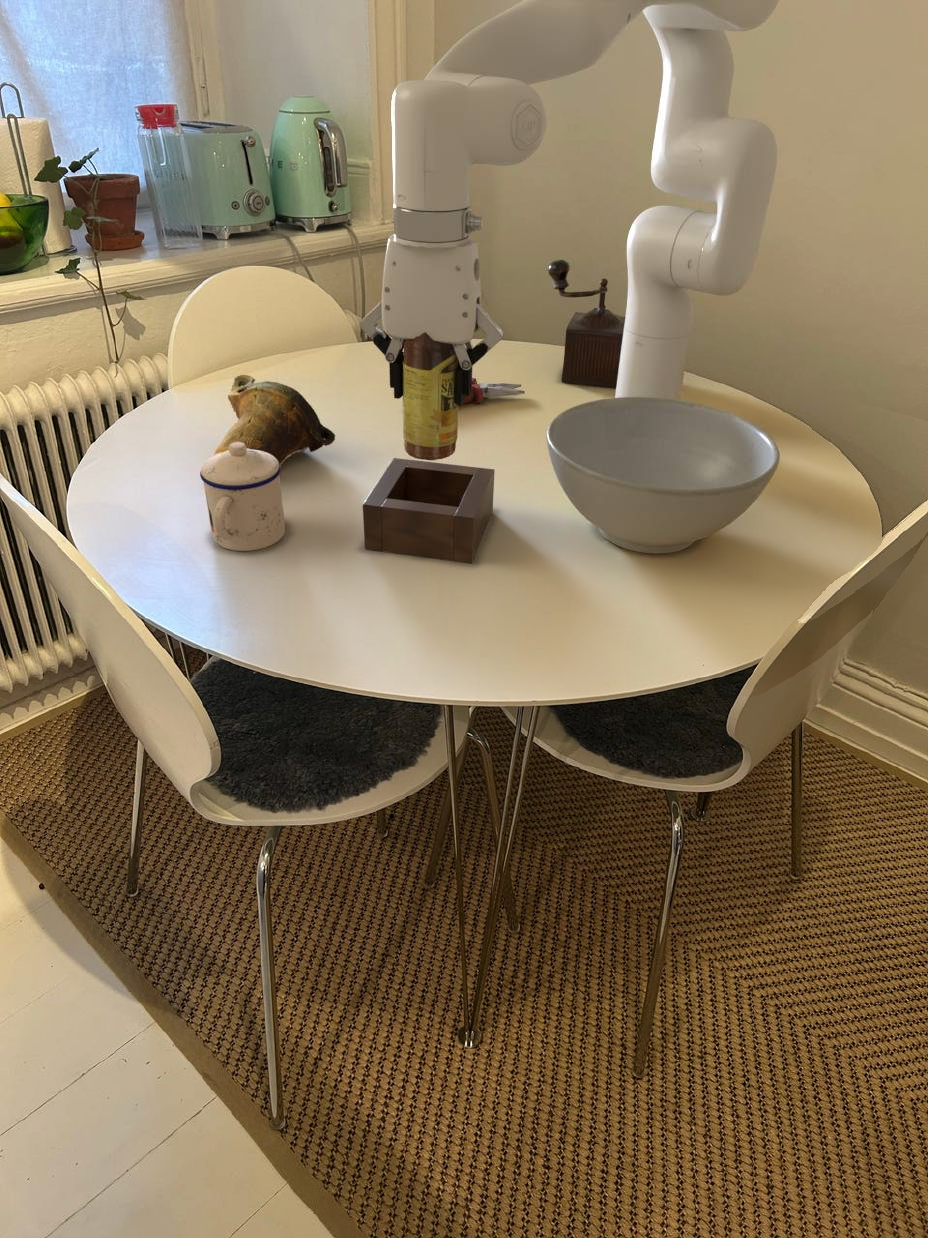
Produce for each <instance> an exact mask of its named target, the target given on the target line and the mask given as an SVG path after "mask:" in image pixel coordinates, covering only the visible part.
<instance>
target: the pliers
mask: <svg viewBox="0 0 928 1238" xmlns="http://www.w3.org/2000/svg"><path fill="white" fill-rule="evenodd" d="M521 387H522V384H521V383H520V384H519V383H506V382H505V383H504V382H482V383H481V382H480V383H478V381H477V378H476V377H472V390H471V394H470V396H466V398H465V400H464V402H463V403H462V405H463V404H467V403H470V402H473V403H475V404H482V403H483V401H484V400H483V399H484V398H499V397H507V396H514V395H523V394H525V393H526V391H525V390H522V389H518V388H521Z"/></svg>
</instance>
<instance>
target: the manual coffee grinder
mask: <svg viewBox="0 0 928 1238" xmlns="http://www.w3.org/2000/svg"><path fill="white" fill-rule="evenodd" d="M570 268H571V267H570V264H569V262H568V261H566V260H564V259H555V260H553V261H551V263H549V264H548V266H547V273H548V276H550V278H551V279H552V280H553V286H552V289H553V290H557V291H558V294H559V296H561V297H563V298H570V299H571V298H586V297H593V296H597V295H599V299H598V300H599V301H598V307H594V308H592V309H591V310H589V311H587V312H582V311H581V312H579V311H575V312H574V314H573V315H572V317H571V319H570V321H569V322H568V324H567V326H566V328H565V329H566V330H565V338H564V339H565V340H564V354H563V365H562V373H561V382H562V383H564V384H570V385H580V386H587V387H595V388H596V387H597V388H606V389H607V388H608V389H609V388H610V389H616V386H617V379H618V371H619V363H620V355H621V347H622V339H623V331H624V325H625V317H626V316H621V315H619V314H616V313H615V312H613V311H611V310H610V309H607V308H606V305H605V300H606V293H607V292H608V291H609V289H608V286H607V285H608V283H609V280H608V279H607V278H605V277H604V278H601V280H600V281H599V285H600V286H599V288H598V289H594V290H587V291H586V290H585V291H565V290H566V289H567V288H568V287H569V286H570V283H569V282H568V279H567V278H568V274H569V272H570V270H571V269H570Z"/></svg>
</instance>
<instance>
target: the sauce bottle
mask: <svg viewBox="0 0 928 1238" xmlns="http://www.w3.org/2000/svg"><path fill="white" fill-rule="evenodd" d="M403 345H404V349H403V352H404V360H403V396H402V436H403V446H404V451H405V453H407V455H408V456H410V457H412V458H414V459H416V460H417V459H418V460H421V461H424V460H425V461H438V460H443V459H445V458H449V457H451V456H452V455H453V454H454V453H455V452H456V448H457V447H456V446H457V445H456V444H457V441H458V430H459V428H458V426H459V425H458V424H459V405H457V404H455V372H456V369H457V368H458V366H459V361H458V358H457V356H456V353H455V350H454V348H453V345H452V344H448V343H441V342H437V341H434V340H433V339H432V338H431V337H430V336H429V335H428V334H427V333H426V332H424V333H423V334H421V335H420V336H416V337H415V338H414V339H407V340H406V339H405V340H404V343H403Z"/></svg>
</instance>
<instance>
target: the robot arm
mask: <svg viewBox="0 0 928 1238" xmlns="http://www.w3.org/2000/svg"><path fill="white" fill-rule="evenodd" d="M779 1H780V0H522V1H521V0H520V2H518V3H516V4H514V5H513V6H511V7H510V8H508V9H505V10H504V11H503V12H501V13H499V14H497V15H495V16H493V17H492V18H490V19H488V20H486V21H484V22H483V23H481V24H479V25H477V26H476V27H475V28H473V29H471V30H470V31H469V32H468V33H466V34H465V35H464V36H463V37H461V38H460V39H459V40H458V41H457V42H456V43H455V44H453V45H452V46H451V48H450V49H448V51H447V52H446V53H445V54H444V55H443V56H442V57H441V58H440V59H439V60H438V62H436V64H435V65H433V67H432V68H431V69H430V71H429V72H428V73H427V74H426V76H425V77H424V79H411V80H405V81H402V82H400V83H398V85H397V86H395V88H394V90H393V93H392V99H391V127H392V129H391V130H392V131H391V132H392V133H391V135H392V137H391V139H392V141H391V142H392V189H393V192H392V195H393V234H391V235H390V236H389V237H388V240H387V243H386V249H385V251H386V252H385V257H384V264H383V274H382V290H381V301H380V302H379V303H378V304H376V306H374V307H373V308H372V309H371V311H369V313H367V314H366V316H365V317H363V318H362V319H361V320H360V321H359V327H360V329H362V331H363V332H364V333H365V334H366V336H367V337H368V338H369V339H371V340H372V343H373V344H374V346H376V348H377V349H378V351H380V352H381V353H382V354H383V355H384V359H385V361H386V362H387V363H388V364H389V365H388V366H389V367H388V368H389V369H388V370H389V387H390V389H393V398H394V399H398V400H399V399H401V398H403V360H404V345H403V343H404V340H405V339H406V340H407V339H414V338H415V337H416V336H420V335H421V334H423V333H424V332H426V333H427V334H428V335H429V336H430V337H431V338H432V339H433V340H434V341H437V342H441V343H448V344H452V345H453V348H454V350H455V353H456V356H457V358H458V361H459V366H458V368H457V369H456V372H455V404H457V405H458V406H462V405H463V404H464V403H463V402H464V400H465V398H466V396H470V394H471V390H472V378H473V366H474V365H476V363H478V362H479V361H480V360H481V359H482V358H483V357H484V356H486V354H487V353H488V352H489V351H490V350H492V349H493V348H494V347H496V345H497V344H498V343H499V342H500V341H501V340H502V339H503V337H504V331H503V329H502V328H501V327H500V325H498V324H497V323H496V322H495V320H494V319H493V318H492V317H491V315H489V313H488V312H487V311H486V310H485V309H484V308H483V307H482V281H481V280H482V279H481V264H480V263H481V262H480V256H479V254H480V253H479V247H478V242H477V239H475V238H473V237H469V236H470V235H471V233H473V232H475V231H483V228H484V216H483V215H477V214H476V213H473V210H472V206H471V205H470V198H471V197H470V195H471V194H470V193H471V192H470V190H471V168H472V166H473V165H475V164H476V165H477V164H478V165H492V166H498V167H499V166H501V167H509V166H514V165H517V164H520V163H522V162H524V161H526V160H527V159H529V158H531V156H532V155H534V154H535V153H536V151H537V150H538V149H539V147H540V146H541V144H542V142H543V140H544V137H545V134H546V130H547V121H548V120H547V111H546V107H545V104H544V102H543V100H542V98H541V96H540V95H539V93H538V92H537V91H536V89H534V88H533V87H532V86H531V85H534V84H537V83H543V82H548V81H552V80H556V79H560V78H564V77H567V76H570V75H572V74H576V73H579V72H581V71H584V70H586V69H589V68H590V67H592V66H594V65H595V64H596V63H598V61H600V60H601V59H602V58H603V56H604V55H606V53H607V52H608V51H609V49H610V48H611V47H612V46H613V45H614V44H615V43H616V42H617V40H618V39H619V38H620V36H621V35H623V33H624V32H625V31H626V30H628V27H629V26H630V25H631V24H632V23H633V22H634V21H635V20H636V19H637V18H638V17H639V16H640V15H641V13H643V15H644V17H645V19H646V20H647V21H648V23H649V26H650V27H651V29H652V31H653V33H654V35H655V38H656V40H657V43H658V46H659V49H660V54H661V59H662V83H661V90H660V97H659V98H660V99H659V105H658V112H657V119H656V124H655V131H654V138H653V145H652V153H651V161H650V162H651V164H650V175H651V181H652V182H653V184H654V186H655V187H656V188H657V189H658V190H660V191H662V192H663V193H666V194H669V195H672V196H678V197H682V198H687V199H694V200H699V201H705V202H710V203H716V204H717V205H716V206H717V208H716V209H717V210H716V213H715V212H714V213H713V212H708V211H704V210H700V209H695V208H694V209H693V208H687V207H683V206H676V205H666V204H665V205H656V206H652V207H649V208H646V209H645V210H644V211H642V212H641V213H639V215H638V216H637V217H636V218H635V219H634V221H633V222H632V224H631V227H630V229H629V230H628V236H627V239H626V240H627V241H626V264H627V265H626V266H627V297H626V308H625V309H626V310H625V316H624V317H625V325H624V331H623V339H622V347H621V355H620V363H619V371H618V379H617V386H616V388H615V396H614V398H619V397H654V398H666V399H674V400H681V395H682V394H681V393H682V388H683V382H684V375H685V370H686V365H687V359H688V353H689V347H690V342H691V337H692V336H691V335H692V331H693V325H694V310H693V309H694V307H693V303H692V299H691V295H690V292H689V290H691V291H695V292H700V293H704V294H708V295H709V294H710V295H714V296H722V297H725V296H731V295H734V294H736V293H738V292H739V291H740V290H741V289H742V288H743V287H744V286H745V285H746V283H748V280H749V279H750V277H751V274H752V273H753V270H754V267H755V264H756V261H757V256H758V253H759V252H758V251H759V249H760V245H761V240H762V235H763V231H764V225H765V223H766V217H767V213H768V209H769V203H770V199H771V195H772V191H773V185H774V182H775V176H776V171H777V165H778V164H777V163H778V147H777V140H776V138H775V135H774V132H773V131H772V129H771V128H770V127H769V126H768V125H767V124H766V123H764V122H762V121H759V120H756V119H752V118H744V117H735V116H734V117H733V116H730V115H729V109H730V108H729V106H730V100H731V94H732V88H733V87H732V86H733V81H734V74H735V73H734V72H735V67H734V66H735V64H734V57H733V56H734V55H733V50H732V48H731V44H730V41H729V39H728V37H727V34H726V32H727V31H728V32H747V31H751V30H754V29H756V28H758V27H761V25H763V24H764V23H765V22H766V21H767V20H768V19H769V17H770V16H771V15H772V14H773V13H774V11H775V10H776V7H777V6H778V3H779ZM725 31H726V32H725ZM380 319H381V325H382V328H381V326H380V325H379V321H380ZM480 329H481V331H482V332H483V333H484V335H485V337H484V338H483V339H482V340H480V341H479V342H478V343H477V344H476V345H475V346H473V343H472V340H473V339H474V336H475V335H474V334H475V333H477V332H478V331H480ZM462 403H463V404H462Z"/></svg>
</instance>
